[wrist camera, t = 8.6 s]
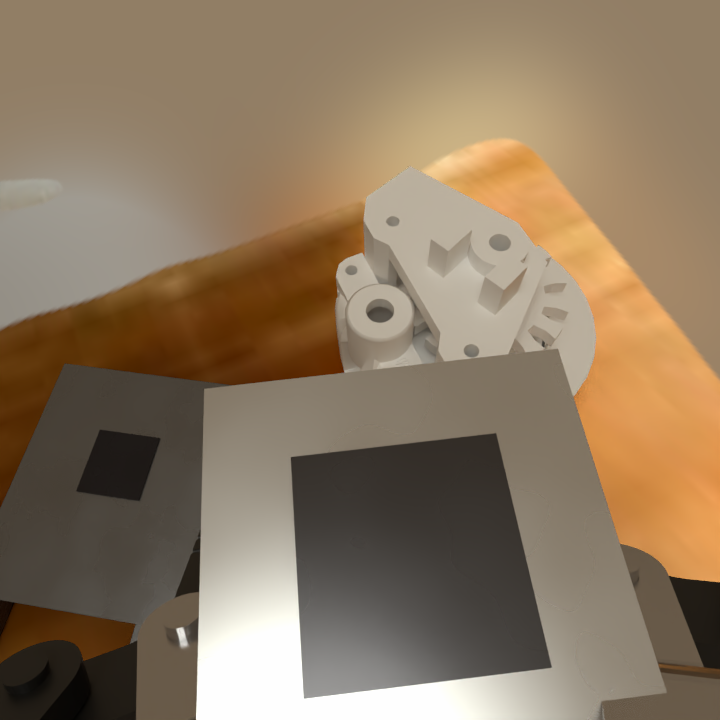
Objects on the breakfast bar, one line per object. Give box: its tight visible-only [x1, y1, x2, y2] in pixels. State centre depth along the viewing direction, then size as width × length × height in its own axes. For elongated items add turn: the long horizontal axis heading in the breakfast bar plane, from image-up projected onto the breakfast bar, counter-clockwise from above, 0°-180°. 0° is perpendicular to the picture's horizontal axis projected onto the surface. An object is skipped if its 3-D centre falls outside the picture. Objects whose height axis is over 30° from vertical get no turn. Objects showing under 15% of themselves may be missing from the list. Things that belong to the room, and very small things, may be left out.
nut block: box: [196, 349, 667, 720], centre depth 10 cm, size 4×4×10 cm
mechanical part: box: [335, 166, 596, 397], centre depth 25 cm, size 11×12×12 cm
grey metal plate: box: [0, 364, 232, 644], centre depth 25 cm, size 24×10×1 cm, turn 171°
